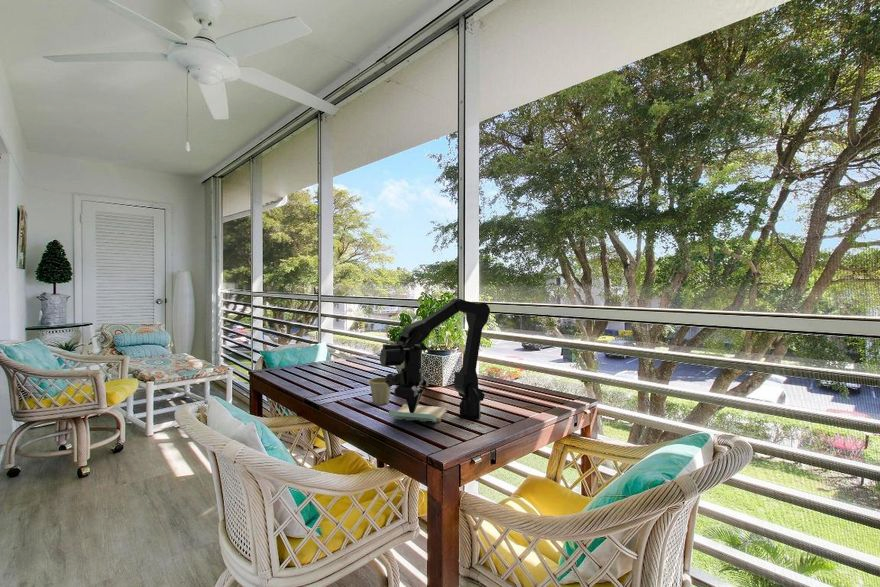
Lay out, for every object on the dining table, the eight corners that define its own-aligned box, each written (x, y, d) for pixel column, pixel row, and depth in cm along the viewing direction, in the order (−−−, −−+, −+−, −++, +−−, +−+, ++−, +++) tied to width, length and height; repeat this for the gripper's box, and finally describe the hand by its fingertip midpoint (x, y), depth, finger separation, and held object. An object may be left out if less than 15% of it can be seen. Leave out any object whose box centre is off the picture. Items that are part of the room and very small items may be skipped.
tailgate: (436, 417, 139) (431, 414, 132) (436, 422, 138) (430, 419, 131) (396, 414, 142) (388, 411, 135) (395, 419, 141) (388, 415, 134)
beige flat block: (447, 411, 150) (447, 407, 150) (439, 422, 139) (439, 418, 139) (404, 408, 154) (404, 404, 154) (393, 418, 142) (393, 414, 142)
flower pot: (369, 407, 155) (369, 383, 155) (367, 400, 165) (367, 378, 164) (395, 405, 158) (395, 382, 158) (391, 398, 167) (391, 376, 167)
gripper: (398, 359, 146) (397, 404, 146) (378, 368, 128) (377, 419, 128) (429, 360, 143) (428, 406, 143) (413, 369, 125) (413, 422, 125)
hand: (412, 413), depth 135 cm, fingers closed
